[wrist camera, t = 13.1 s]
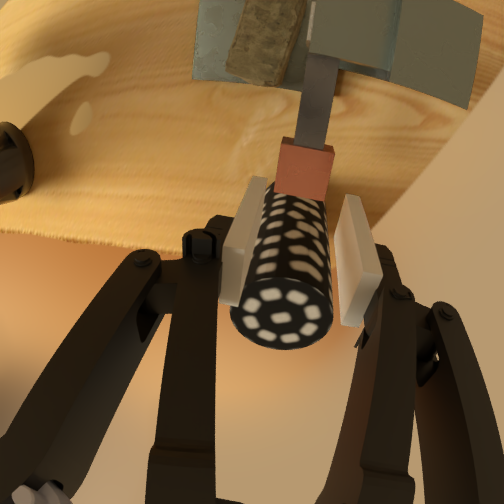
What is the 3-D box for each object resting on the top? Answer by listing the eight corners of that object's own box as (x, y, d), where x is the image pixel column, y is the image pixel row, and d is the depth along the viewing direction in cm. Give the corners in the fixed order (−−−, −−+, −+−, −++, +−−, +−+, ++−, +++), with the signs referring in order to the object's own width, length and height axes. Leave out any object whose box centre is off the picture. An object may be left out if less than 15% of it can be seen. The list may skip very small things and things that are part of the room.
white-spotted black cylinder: (315, 168, 38) (320, 267, 22) (331, 225, 42) (341, 342, 26) (252, 185, 41) (212, 288, 24) (273, 238, 45) (251, 354, 28)
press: (195, 78, 33) (61, 121, 14) (205, -13, 26) (77, -73, 7) (364, 104, 32) (447, 177, 13) (380, 11, 25) (486, -41, 6)
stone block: (310, -1, 25) (311, -11, 21) (281, 89, 32) (277, 94, 28) (257, -14, 25) (250, -24, 21) (231, 76, 32) (220, 79, 28)
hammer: (280, 162, 28) (269, 207, 20) (302, 20, 20) (300, -1, 13) (320, 169, 27) (325, 218, 20) (346, 28, 20) (367, 13, 12)
